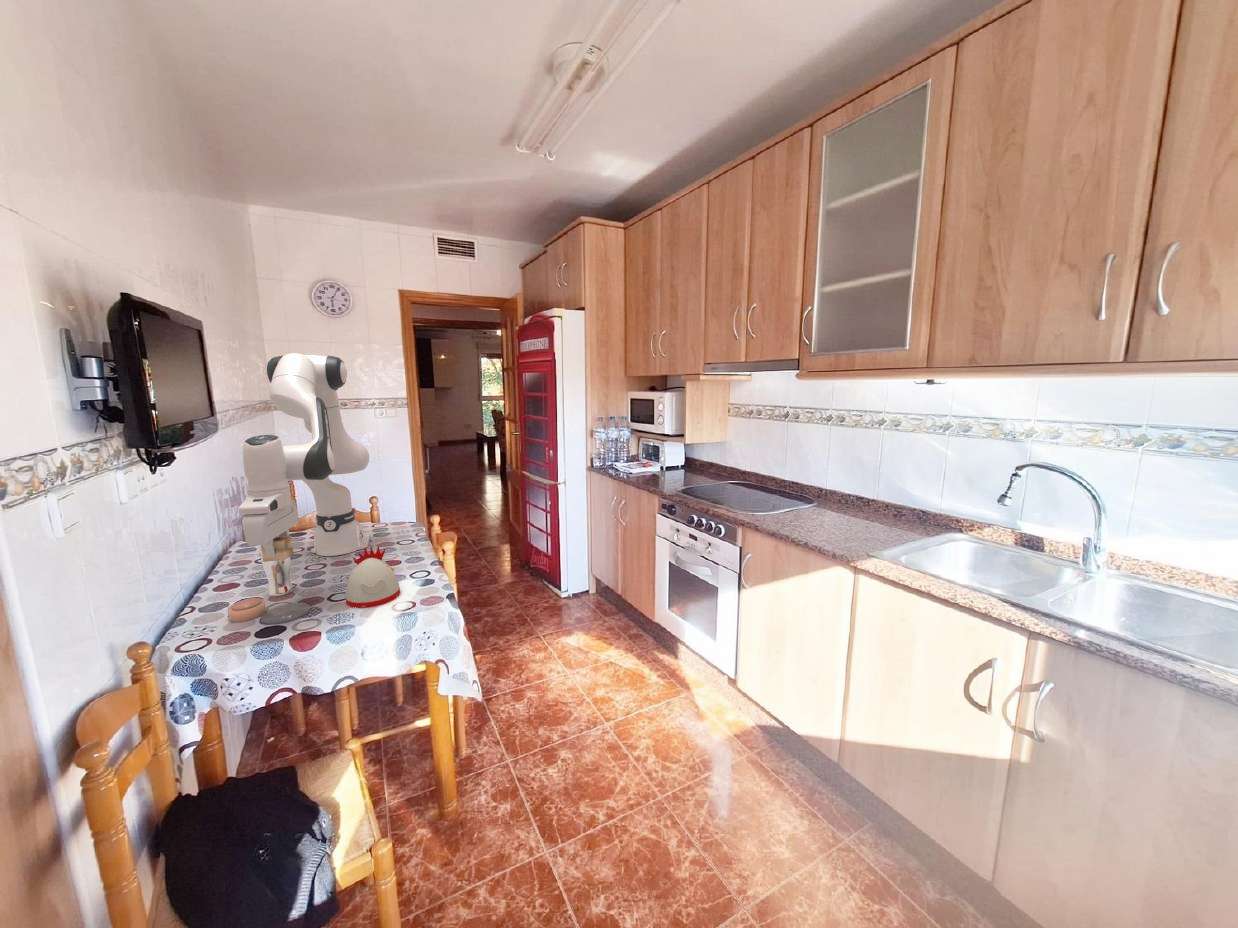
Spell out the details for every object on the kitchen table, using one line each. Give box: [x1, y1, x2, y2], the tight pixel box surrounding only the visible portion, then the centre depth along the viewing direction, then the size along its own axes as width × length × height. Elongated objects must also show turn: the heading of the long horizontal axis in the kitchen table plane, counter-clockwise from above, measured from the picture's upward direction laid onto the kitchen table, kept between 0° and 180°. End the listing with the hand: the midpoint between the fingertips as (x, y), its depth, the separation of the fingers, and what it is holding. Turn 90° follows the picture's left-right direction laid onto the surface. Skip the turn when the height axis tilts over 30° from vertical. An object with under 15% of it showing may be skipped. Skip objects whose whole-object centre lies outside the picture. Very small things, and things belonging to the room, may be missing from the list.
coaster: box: [260, 602, 312, 625], centre depth 130 cm, size 11×11×1 cm
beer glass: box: [259, 545, 294, 597], centre depth 143 cm, size 7×7×15 cm
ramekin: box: [227, 597, 268, 623], centre depth 130 cm, size 8×8×4 cm
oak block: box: [260, 535, 294, 562], centre depth 127 cm, size 5×5×5 cm
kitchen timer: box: [345, 545, 401, 609], centre depth 139 cm, size 14×14×15 cm
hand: (277, 551), depth 127 cm, fingers closed on oak block, 5 cm apart
